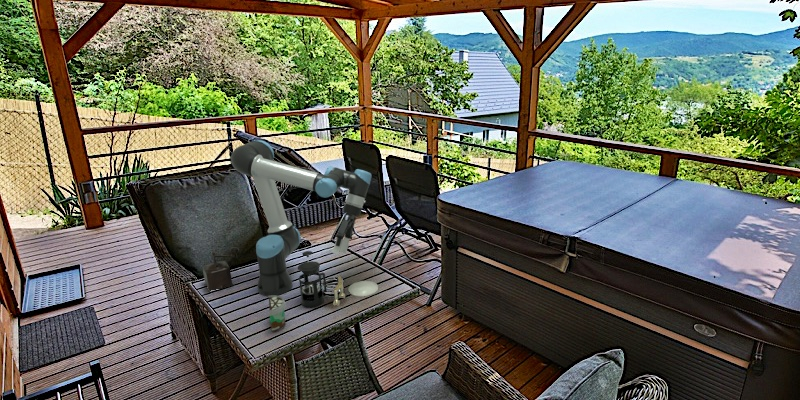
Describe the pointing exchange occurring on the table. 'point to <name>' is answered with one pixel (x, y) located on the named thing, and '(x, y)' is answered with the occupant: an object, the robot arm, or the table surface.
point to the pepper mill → (219, 272)
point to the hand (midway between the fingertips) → (339, 253)
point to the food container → (276, 312)
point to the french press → (311, 283)
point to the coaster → (363, 288)
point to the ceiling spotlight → (341, 295)
